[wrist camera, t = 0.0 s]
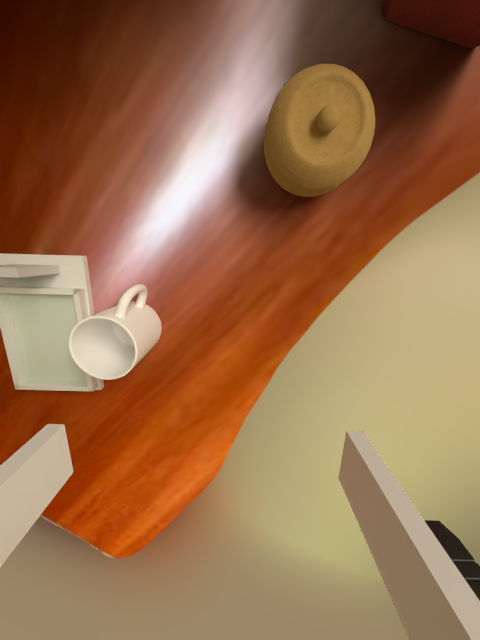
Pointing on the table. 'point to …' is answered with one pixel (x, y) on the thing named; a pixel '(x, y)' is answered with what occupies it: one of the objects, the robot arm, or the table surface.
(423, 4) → the plant pot
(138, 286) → the cup
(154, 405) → the table surface
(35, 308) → the dock
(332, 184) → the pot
